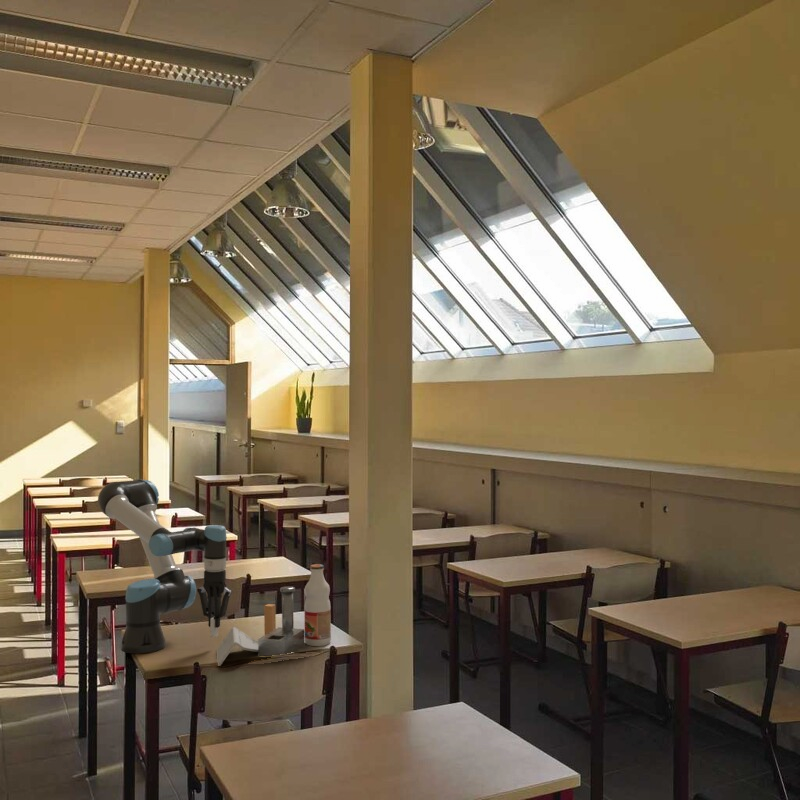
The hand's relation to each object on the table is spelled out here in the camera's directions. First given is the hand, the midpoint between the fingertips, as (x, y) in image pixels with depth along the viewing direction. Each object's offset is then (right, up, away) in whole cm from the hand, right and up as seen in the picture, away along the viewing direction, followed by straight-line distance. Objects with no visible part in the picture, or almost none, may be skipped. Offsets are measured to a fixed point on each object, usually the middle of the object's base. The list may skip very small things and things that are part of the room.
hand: (214, 636), depth 292 cm
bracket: (+11, -5, -9) cm, 16 cm away
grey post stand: (+25, -4, -4) cm, 25 cm away
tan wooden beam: (+18, -4, +10) cm, 21 cm away
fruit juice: (+36, -4, +6) cm, 37 cm away
